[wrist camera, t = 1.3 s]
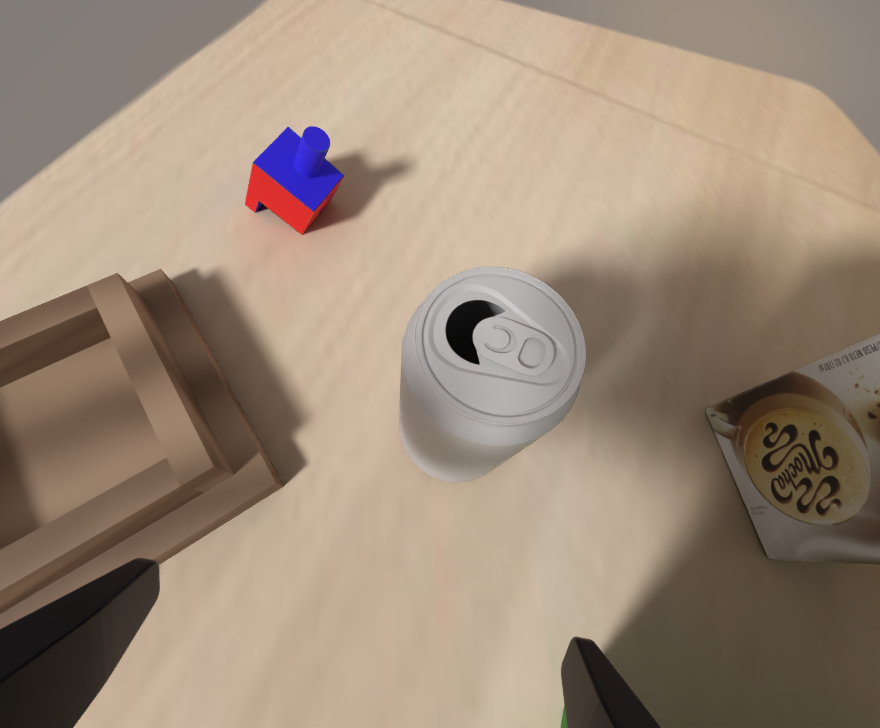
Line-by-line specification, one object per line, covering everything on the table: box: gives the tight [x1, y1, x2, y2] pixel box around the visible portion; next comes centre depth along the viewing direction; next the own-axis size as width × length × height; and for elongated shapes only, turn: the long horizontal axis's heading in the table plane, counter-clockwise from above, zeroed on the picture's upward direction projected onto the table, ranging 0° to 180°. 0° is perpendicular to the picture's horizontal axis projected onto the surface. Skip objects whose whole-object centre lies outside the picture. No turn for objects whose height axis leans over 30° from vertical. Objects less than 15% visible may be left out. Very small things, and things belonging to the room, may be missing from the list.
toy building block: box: [245, 127, 344, 235], centre depth 27 cm, size 4×4×8 cm
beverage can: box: [399, 267, 586, 483], centre depth 19 cm, size 6×6×12 cm
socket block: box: [0, 269, 283, 629], centre depth 20 cm, size 15×15×4 cm
